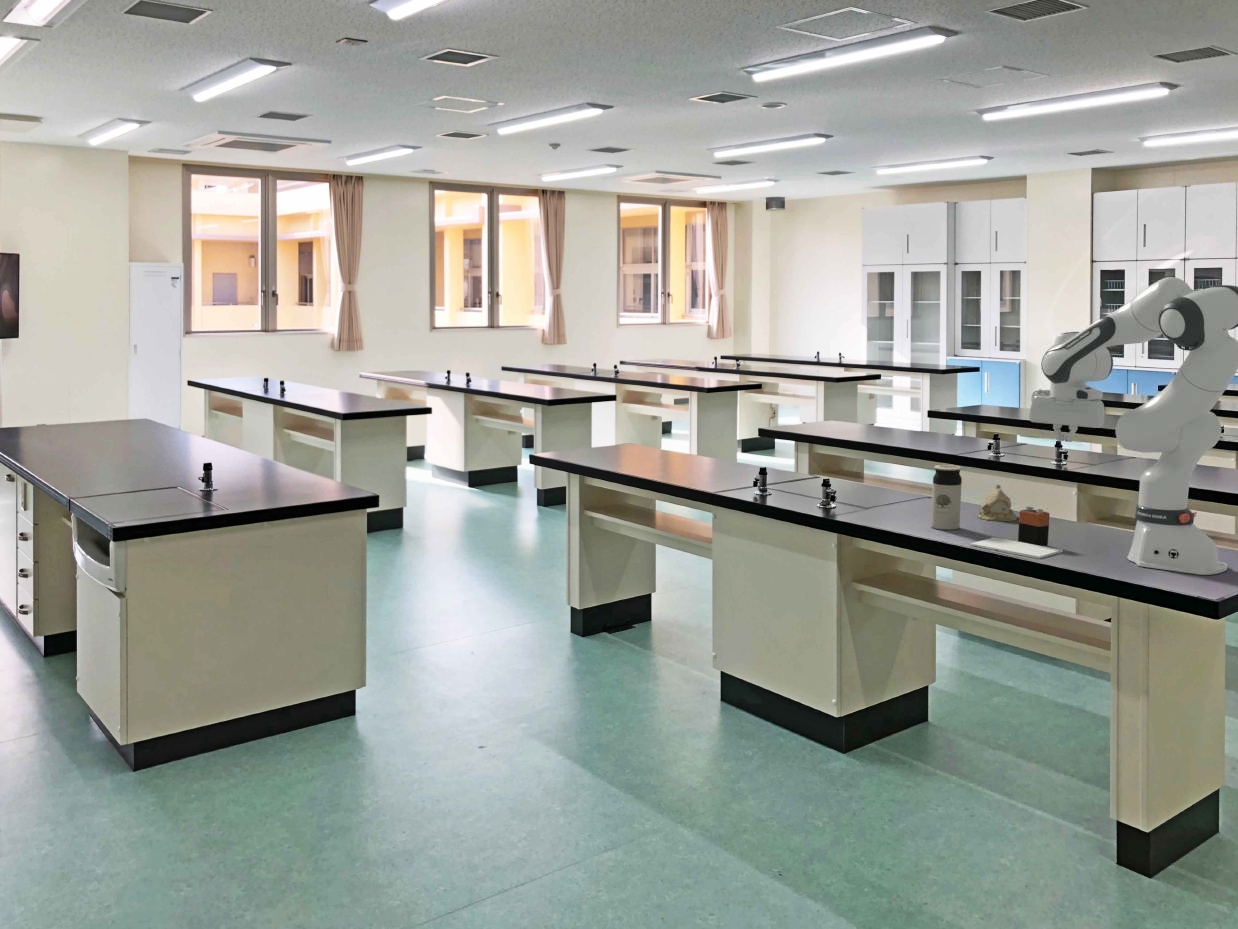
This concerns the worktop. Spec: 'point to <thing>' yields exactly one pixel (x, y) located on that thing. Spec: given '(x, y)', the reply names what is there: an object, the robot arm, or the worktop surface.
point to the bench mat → (1017, 547)
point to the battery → (1033, 526)
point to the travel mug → (946, 497)
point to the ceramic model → (997, 507)
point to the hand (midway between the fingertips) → (1064, 441)
